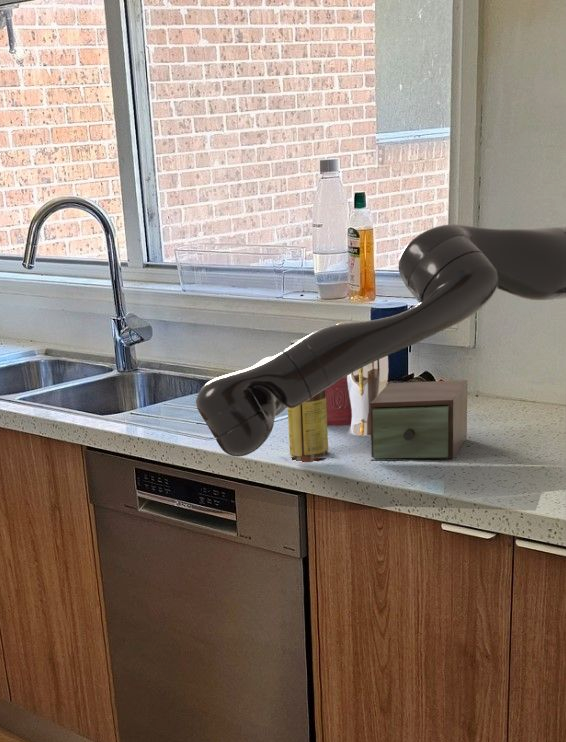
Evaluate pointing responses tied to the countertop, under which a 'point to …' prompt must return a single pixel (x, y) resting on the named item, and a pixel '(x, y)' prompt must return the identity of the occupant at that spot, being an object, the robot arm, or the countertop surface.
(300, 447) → the sauce bottle
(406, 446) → the drawer
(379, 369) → the beer glass
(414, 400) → the cabinet
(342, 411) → the kitchen canister
